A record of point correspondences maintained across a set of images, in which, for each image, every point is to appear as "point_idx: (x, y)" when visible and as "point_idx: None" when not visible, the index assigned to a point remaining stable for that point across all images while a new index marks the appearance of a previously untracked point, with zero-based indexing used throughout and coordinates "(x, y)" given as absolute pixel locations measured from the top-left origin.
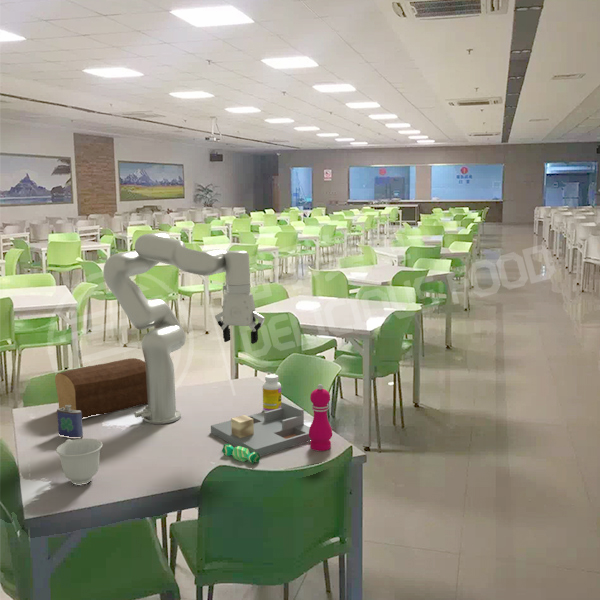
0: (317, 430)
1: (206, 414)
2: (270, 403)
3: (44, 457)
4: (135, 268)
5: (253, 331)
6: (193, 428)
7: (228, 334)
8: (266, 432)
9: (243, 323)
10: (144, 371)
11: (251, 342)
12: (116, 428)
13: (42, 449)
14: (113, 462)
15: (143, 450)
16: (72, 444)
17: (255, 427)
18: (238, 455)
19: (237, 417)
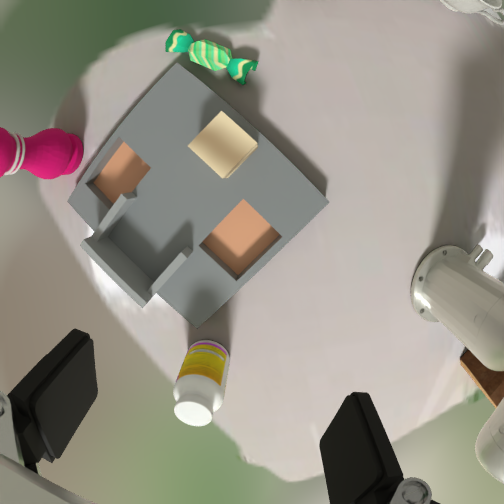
0: (45, 130)
1: (358, 320)
2: (202, 352)
3: None
4: None
5: (6, 396)
6: (372, 227)
7: (340, 465)
8: (168, 168)
9: (17, 502)
10: (501, 383)
11: (82, 335)
12: (498, 217)
13: None
14: (449, 51)
15: (430, 96)
16: (494, 3)
17: (204, 199)
18: (212, 42)
19: (239, 152)
